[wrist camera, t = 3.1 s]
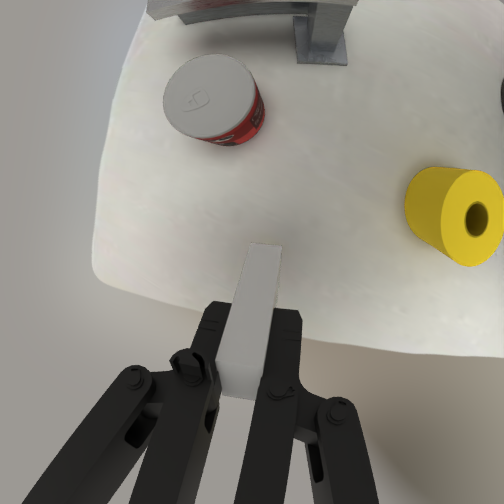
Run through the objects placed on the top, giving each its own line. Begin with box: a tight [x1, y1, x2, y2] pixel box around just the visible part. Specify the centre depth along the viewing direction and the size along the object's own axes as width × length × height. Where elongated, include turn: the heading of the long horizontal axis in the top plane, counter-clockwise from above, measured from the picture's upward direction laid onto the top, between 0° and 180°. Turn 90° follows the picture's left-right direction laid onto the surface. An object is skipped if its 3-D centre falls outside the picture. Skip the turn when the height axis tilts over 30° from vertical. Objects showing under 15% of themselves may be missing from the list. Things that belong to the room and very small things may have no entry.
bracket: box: [146, 0, 358, 66], centre depth 19 cm, size 10×20×16 cm, turn 92°
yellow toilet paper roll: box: [404, 167, 504, 267], centre depth 25 cm, size 10×10×9 cm
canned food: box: [163, 54, 265, 146], centre depth 25 cm, size 8×8×11 cm
